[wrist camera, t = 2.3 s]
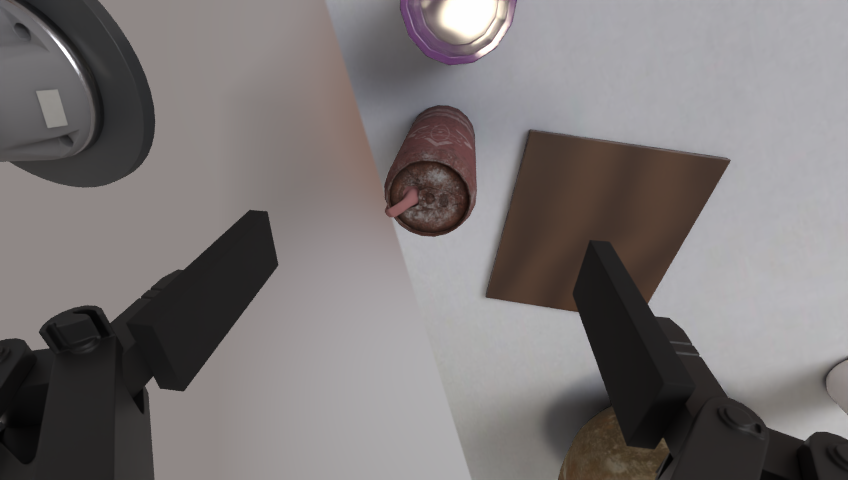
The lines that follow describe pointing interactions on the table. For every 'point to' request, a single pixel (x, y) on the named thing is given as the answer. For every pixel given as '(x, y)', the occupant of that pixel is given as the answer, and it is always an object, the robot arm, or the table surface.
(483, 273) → the table surface
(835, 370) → the alcohol
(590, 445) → the bowl
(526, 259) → the placemat
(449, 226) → the can
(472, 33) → the purple faceted cup
